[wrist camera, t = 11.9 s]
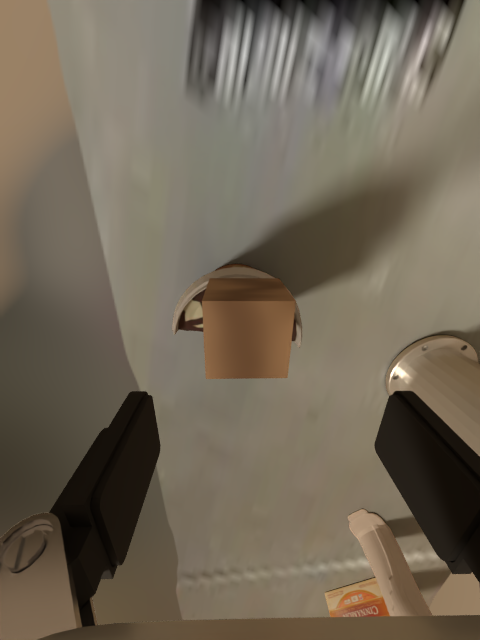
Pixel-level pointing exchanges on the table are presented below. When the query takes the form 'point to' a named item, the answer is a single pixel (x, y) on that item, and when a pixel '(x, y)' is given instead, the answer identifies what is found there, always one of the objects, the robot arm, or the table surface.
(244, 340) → the walnut block
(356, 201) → the table surface
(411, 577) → the candle
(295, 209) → the table surface
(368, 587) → the coffeecake box
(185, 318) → the food container
